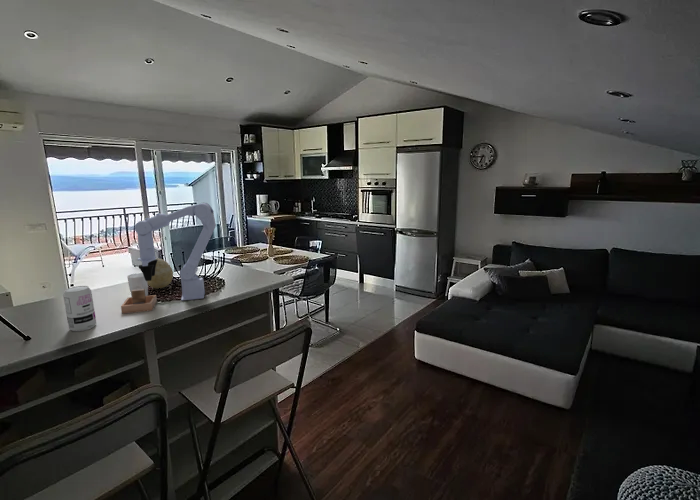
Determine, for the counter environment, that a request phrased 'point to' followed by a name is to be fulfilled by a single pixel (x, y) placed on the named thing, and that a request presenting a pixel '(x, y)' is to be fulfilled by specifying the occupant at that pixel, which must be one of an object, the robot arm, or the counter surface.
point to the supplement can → (79, 308)
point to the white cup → (137, 282)
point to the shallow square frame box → (139, 305)
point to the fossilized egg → (161, 275)
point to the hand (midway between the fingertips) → (150, 278)
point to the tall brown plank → (138, 295)
